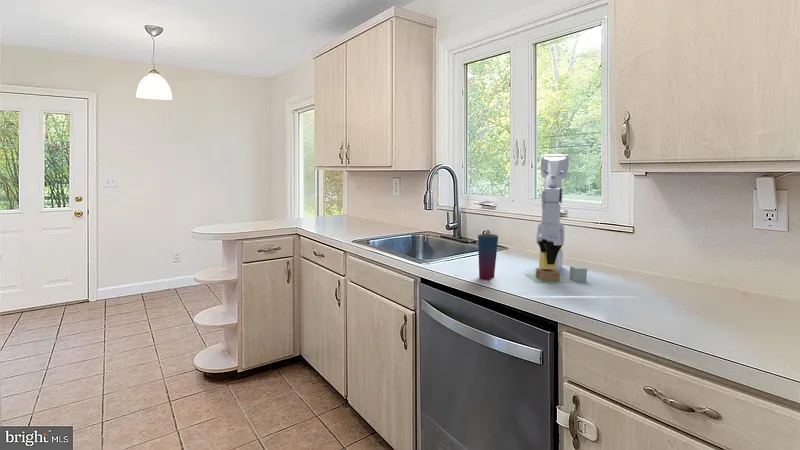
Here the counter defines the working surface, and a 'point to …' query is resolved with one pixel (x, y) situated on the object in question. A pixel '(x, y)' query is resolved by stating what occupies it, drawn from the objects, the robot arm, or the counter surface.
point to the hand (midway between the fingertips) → (548, 262)
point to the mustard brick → (545, 262)
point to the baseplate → (537, 280)
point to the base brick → (548, 274)
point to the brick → (578, 273)
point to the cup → (487, 255)
